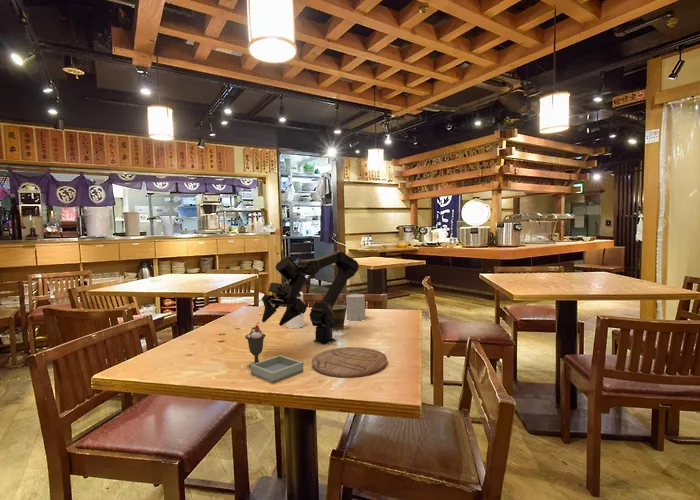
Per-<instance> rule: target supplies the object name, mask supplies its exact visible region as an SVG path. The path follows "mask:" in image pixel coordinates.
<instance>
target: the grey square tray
mask: <svg viewBox="0 0 700 500" xmlns="http://www.w3.org/2000/svg"><path fill="white" fill-rule="evenodd" d="M250 364H251V365H250ZM250 364H249V365H250V367H249V368H250V375H252V376H254V377H256V378H258V379H260V380H261V379H262V380H263V381H265V382H269V383H270V384H276V383H278V382H281V381H284V380H286V379H289V378H291V377H293V376H296V375H299V374H301V373H303V372H304V361H301V360H297V359H294V358H291V357H287V356H284V355H280V354H279V355H277V356H276V355H275V356H273V357H270V358H268V359H264V360H261V361H259V362H258V363H255V364H252V363H250Z"/></svg>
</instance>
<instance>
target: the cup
mask: <svg viewBox="0 0 700 500" xmlns="http://www.w3.org/2000/svg"><path fill="white" fill-rule="evenodd" d="M300 294H301V296H300V297H297V298H300V299H301V300H302V301H303V302H304V293H303V292H302V291H301V292H300ZM304 314H305V313H304ZM304 314H303V313H301V315H298V316H296V317H294V318H293V319H291V320H290V321H288V322H286V328H287V327H288V329H290V328H296V329H301V328H300V327H302V328H304V327H305V315H304ZM303 326H304V327H303Z"/></svg>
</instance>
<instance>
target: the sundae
mask: <svg viewBox="0 0 700 500" xmlns="http://www.w3.org/2000/svg"><path fill="white" fill-rule="evenodd" d="M259 323H260V321H257V324H256V325H255V327H251V330H250V332H249V334H245V340H247V342H248V349H249V352H250V353H251V355H253V356H254V361H253V362H252V363H250V364H249V366H248V367H249V368H250V365H251V364H255V363H258V362H260V360H259V356H260V354H261V353H262V351H263V348H264V341H265V340H264V339H265V337H266V334H265V333H263V332H262V329H261V327H260V326H259V325H258V324H259Z"/></svg>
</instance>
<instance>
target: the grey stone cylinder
mask: <svg viewBox="0 0 700 500" xmlns="http://www.w3.org/2000/svg"><path fill="white" fill-rule="evenodd" d="M345 298H346V299H345V300H346V301H345V302H346V305H345V306H346V321H347V320H349V321H362V320H365V319H366V300H365V299H366V295H365V294H361V293H352V294H350V293H349V294H347V295H345ZM349 321H348V322H349ZM365 321H366V320H365ZM362 322H363V321H362Z"/></svg>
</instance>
